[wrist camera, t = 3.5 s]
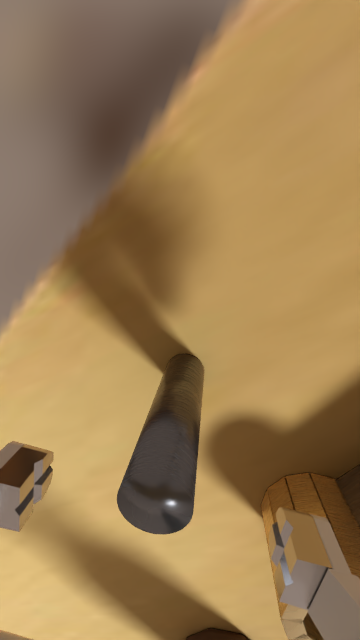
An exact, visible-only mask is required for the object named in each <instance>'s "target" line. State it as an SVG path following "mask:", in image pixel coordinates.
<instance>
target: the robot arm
mask: <svg viewBox="0 0 360 640" xmlns="http://www.w3.org/2000/svg"><path fill="white" fill-rule="evenodd" d="M52 461H53V452H52V451H48V450H45V449H41V448H38V447H34V446H30V445H27V444H22V443H19V442H15V441H12V442H10V443H8V444H7V445H6V446H5V447H4V448H3V449H2V450H1V451H0V527H1V528H5V529H9V530H14V531H18V532H19V531H20V530H21V529H22V527H23V526H24V524H25V523H26V521H27V520H28V518H29V517H30V515H31V514H32V513H33V504H35V503H36V502H38V501H40V500H41V499H42V498H43V496H44V495H45V493H46V492H47V489H48V487H49V485H50V483H51V479H52V475H53V469H52V468H51V466H50V464H51V463H52ZM276 519H277V522H276V523H274V524H272V526H271V530H270V534H269V551H270V556H271V560H272V561H273V562H274V564H275V565H276V567H277V569H276V571H275V574H274V578H275V583H276V588H277V593H278V598H279V602H283V603H286V604H289V605H293V606H296V607H299V608H302V609H306V610H308V614H309V615H310V617H311V619H312V620H313V622H314V624H315V625H316V627H317V629H318V630H319V632H320V634H321V636H322V637H323V639H324V640H360V579H359V578H358V577H357V576H356V575H352V574H351V571H350V569H349V567H348V564H347V562H346V560H345V558H344V555H343V553H342V551H341V548H340V546H339V544H338V541H337V539H336V537H335V535H334V532H333V530H332V528H331V525H330V523H329V521H328V520H327V519H326V518H325V517H320V516H316V515H312V514H308V513H304V512H300V511H295V510H291V509H287V508H282V507H280V508H279V509H278V510H277V513H276ZM0 640H33V639H30V638H26V637H23V636H19V635H16V634H13V633H9V632H6V631H2V630H0Z"/></svg>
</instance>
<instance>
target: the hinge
mask: <svg viewBox="0 0 360 640" xmlns="http://www.w3.org/2000/svg"><path fill="white" fill-rule="evenodd" d="M280 507H282V508H287V509H291V510H295V511H300V512H304V513H308V514H312V515H316V516H320V517H325V518H326V519H327V520H328V521H329V523H330V525H331V528H332V530H333V532H334V535H335V537H336V539H337V541H338V544H339V546H340V548H341V551H342V553H343V555H344V558H345V560H346V562H347V564H348V567H349V569H350V571H351V574H352V575H356V576H357V577H358V578H359V579H360V465H358V466H357V467H355V468H354V469H352V470H351V471H349V472H348V473H346V474H345V475H343V476H341V477H340V478H338V479H337V480H335V479H333V478H330V477H326V476H322V475H318V474H314V473H310V474H309V473H302V474H296V475H290V476H286V478H285V477H283V478H282V479H280V480H279V481H277V482H276V483H275V484H273V485H272V486H270V487H269V488H268V490H266V493H265V496H264V498H263V501H262V504H261V509H262V515H263V521H264V526H265V532H266V538H267V543H268V549H269V534H270V530H271V526H272V524H274V523H276V522H277V519H276V513H277V510H278V509H279V508H280ZM269 555H270V551H269ZM270 560H271V556H270ZM271 566H272V572H273V577H274V574H275V571H276V569H277V567H276V565H275V564H274V562H273V561H272V560H271ZM274 583H275V578H274ZM275 589H276V594H277V600H278V606H279V611H280V617H281V621H282V624H283V627H284V629H285V632H286V635H287V637H288V639H289V640H324V639H323V637H322V636H321V634H320V632H319V630H318V629H317V627H316V625H315V624H314V622H313V620H312V619H311V617H310V615H309V614H308V610H306V609H302V608H299V607H296V606H293V605H289V604H286V603H283V602H279V598H278V593H277V588H276V583H275Z"/></svg>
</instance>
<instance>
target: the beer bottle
mask: <svg viewBox="0 0 360 640" xmlns="http://www.w3.org/2000/svg"><path fill="white" fill-rule="evenodd" d="M186 640H248V639H247V638H246V637H245V636H243V635H242V634H238V633H233V632H228V631H223V630H218V629H213V628H209V629H206V630H204V631H201V632H199V633H197V634H194V635H192V636H189V637H187V639H186Z"/></svg>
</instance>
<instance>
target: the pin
mask: <svg viewBox="0 0 360 640" xmlns="http://www.w3.org/2000/svg"><path fill="white" fill-rule="evenodd" d="M203 382H204V367H203V365H202V363H201V362H200V360H199V359H198V358H196V357H195V356H193V355H190V354H179V355H176V356H174V357H173V358H172V359H170V361H169V362H168V364H167V367H166V369H165V372H164V375H163V377H162V380H161V382H160V385H159V387H158V390H157V393H156V395H155V398H154V400H153V403H152V406H151V408H150V411H149V413H148V416H147V418H146V421H145V424H144V426H143V429H142V431H141V434H140V437H139V439H138V442H137V444H136V447H135V449H134V452H133V455H132V457H131V460H130V462H129V465H128V468H127V470H126V473H125V475H124V478H123V480H122V483H121V486H120V488H119V491H118V494H117V504H118V507H119V510H120V512H121V513H122V515H123V516H124V518H125V519H126V520H127V521H128V522H130V523H131V524H132V525H133V526H135V527H137V528H138V529H141V530H143V531H146V532H149V533H153V534H170V533H174V532H177V531H179V530H181V529H183V528H184V527H185V526H186V525H187V524H188V523H189V522H190V520H191V518H192V515H193V508H194V495H195V483H196V470H197V457H198V445H199V432H200V420H201V407H202V394H203Z"/></svg>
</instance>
